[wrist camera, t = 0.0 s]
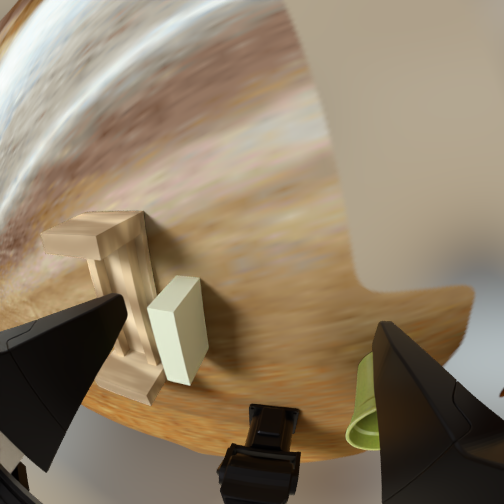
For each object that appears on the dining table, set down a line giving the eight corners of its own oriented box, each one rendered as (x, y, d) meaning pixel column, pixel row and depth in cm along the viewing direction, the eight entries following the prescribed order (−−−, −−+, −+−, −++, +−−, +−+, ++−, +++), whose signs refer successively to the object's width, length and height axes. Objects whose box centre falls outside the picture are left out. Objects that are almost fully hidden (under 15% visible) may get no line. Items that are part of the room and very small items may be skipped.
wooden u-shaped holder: (174, 366, 32) (151, 405, 26) (124, 352, 34) (98, 386, 27) (143, 210, 25) (95, 235, 18) (86, 211, 26) (40, 233, 20)
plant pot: (437, 350, 24) (460, 408, 16) (384, 398, 28) (391, 455, 20) (381, 319, 24) (399, 387, 16) (326, 376, 28) (324, 440, 20)
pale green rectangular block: (209, 347, 30) (190, 385, 24) (182, 342, 30) (161, 378, 25) (200, 277, 26) (173, 312, 21) (170, 274, 27) (139, 306, 21)
